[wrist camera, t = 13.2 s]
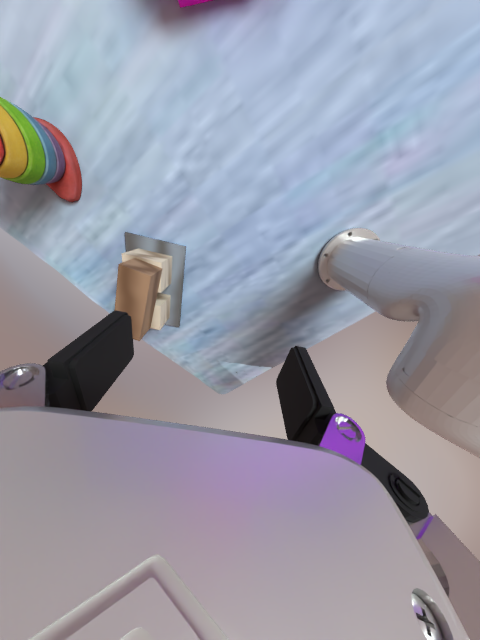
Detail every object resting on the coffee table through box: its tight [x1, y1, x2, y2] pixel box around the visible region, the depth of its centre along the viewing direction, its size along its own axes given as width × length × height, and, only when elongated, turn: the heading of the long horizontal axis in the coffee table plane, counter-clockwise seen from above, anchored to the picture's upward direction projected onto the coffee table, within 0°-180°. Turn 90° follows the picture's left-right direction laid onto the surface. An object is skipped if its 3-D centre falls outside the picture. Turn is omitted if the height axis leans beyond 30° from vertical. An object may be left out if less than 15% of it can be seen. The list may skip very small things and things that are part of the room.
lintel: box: [115, 258, 162, 341], centre depth 35 cm, size 5×14×5 cm, turn 158°
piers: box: [122, 232, 186, 330], centre depth 40 cm, size 12×20×7 cm, turn 167°
